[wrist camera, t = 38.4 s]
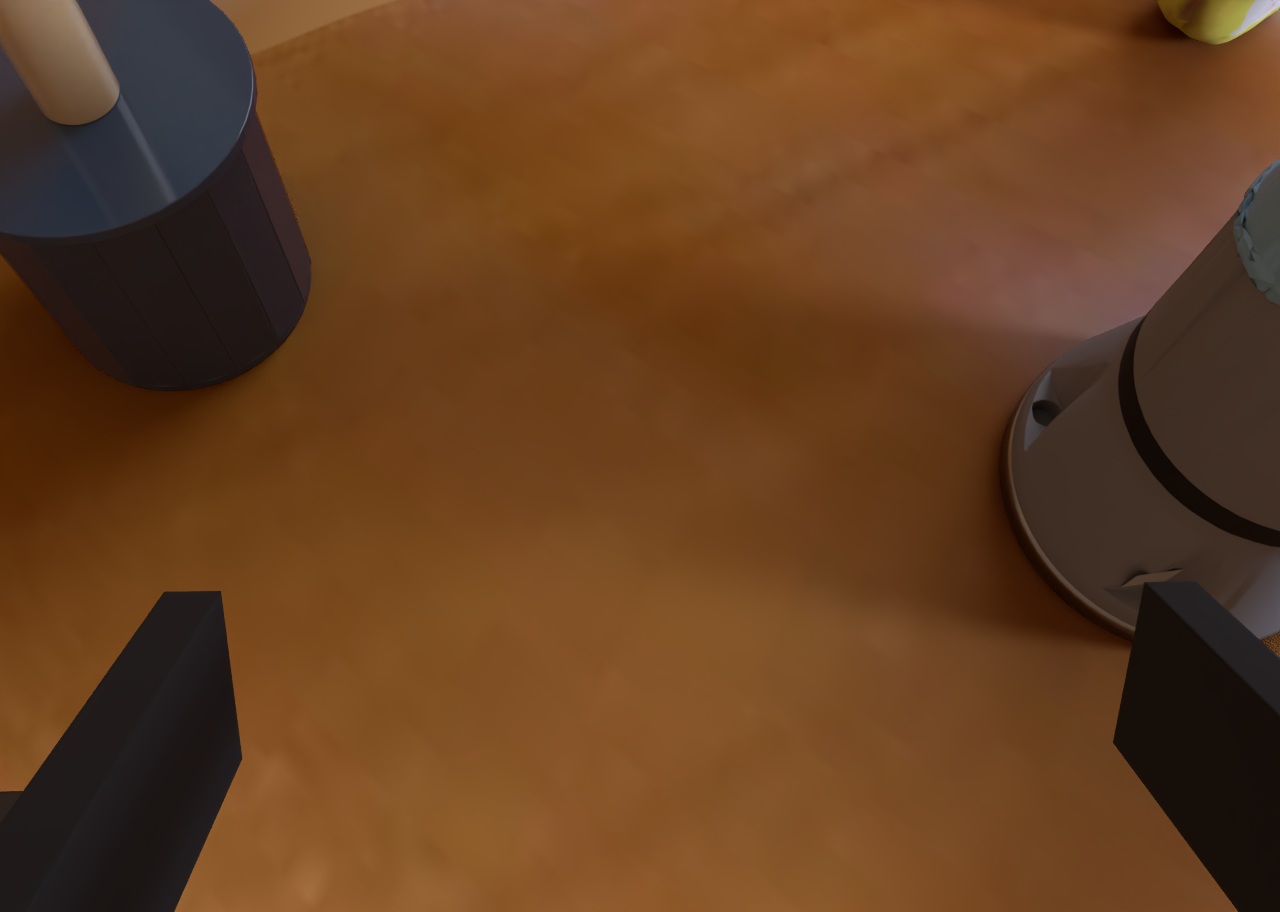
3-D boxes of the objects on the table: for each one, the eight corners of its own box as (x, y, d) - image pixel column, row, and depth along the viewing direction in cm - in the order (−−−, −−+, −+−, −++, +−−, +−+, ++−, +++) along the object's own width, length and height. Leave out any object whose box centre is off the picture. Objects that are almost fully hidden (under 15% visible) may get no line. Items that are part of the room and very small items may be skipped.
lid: (218, -41, 48) (131, -285, 38) (298, 200, 43) (221, -13, 34) (-107, 35, 45) (-284, -206, 36) (-59, 298, 41) (-249, 99, 31)
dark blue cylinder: (277, 158, 58) (204, -39, 47) (339, 346, 54) (276, 180, 43) (41, 222, 56) (-96, 31, 45) (87, 423, 52) (-51, 270, 40)
